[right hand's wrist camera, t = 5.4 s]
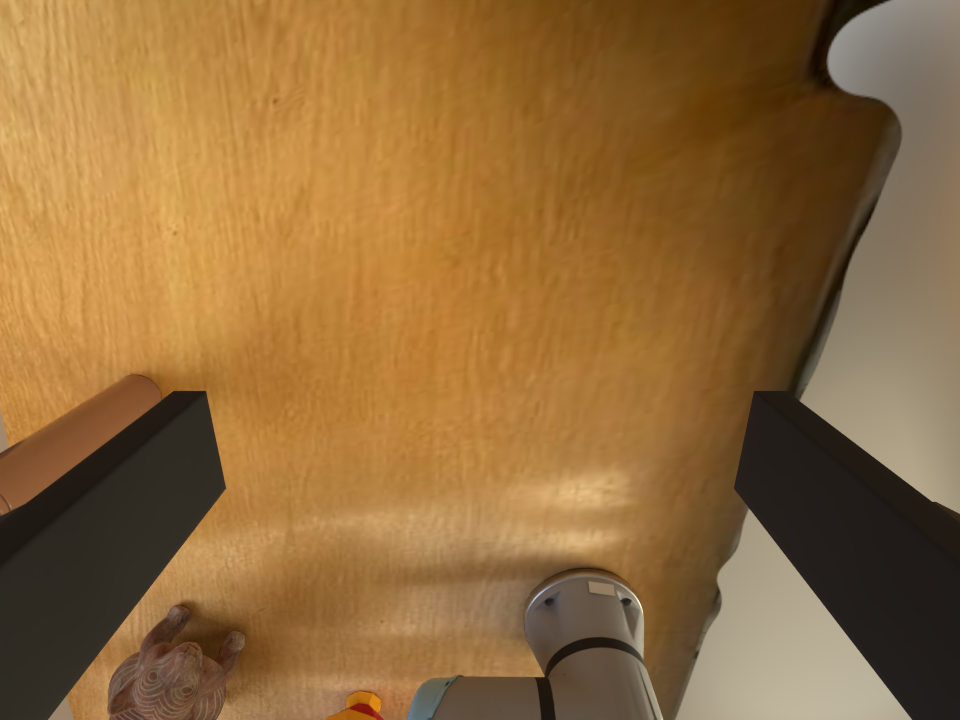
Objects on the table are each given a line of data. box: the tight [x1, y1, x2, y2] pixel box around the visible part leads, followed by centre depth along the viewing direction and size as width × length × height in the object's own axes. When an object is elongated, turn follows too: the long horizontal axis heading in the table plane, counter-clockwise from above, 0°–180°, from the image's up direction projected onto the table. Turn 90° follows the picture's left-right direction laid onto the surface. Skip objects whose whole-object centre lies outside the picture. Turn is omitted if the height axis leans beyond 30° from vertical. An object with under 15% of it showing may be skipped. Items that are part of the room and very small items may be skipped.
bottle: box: [0, 375, 162, 516], centre depth 45 cm, size 5×5×25 cm
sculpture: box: [107, 605, 246, 720], centre depth 63 cm, size 14×25×15 cm, turn 153°
